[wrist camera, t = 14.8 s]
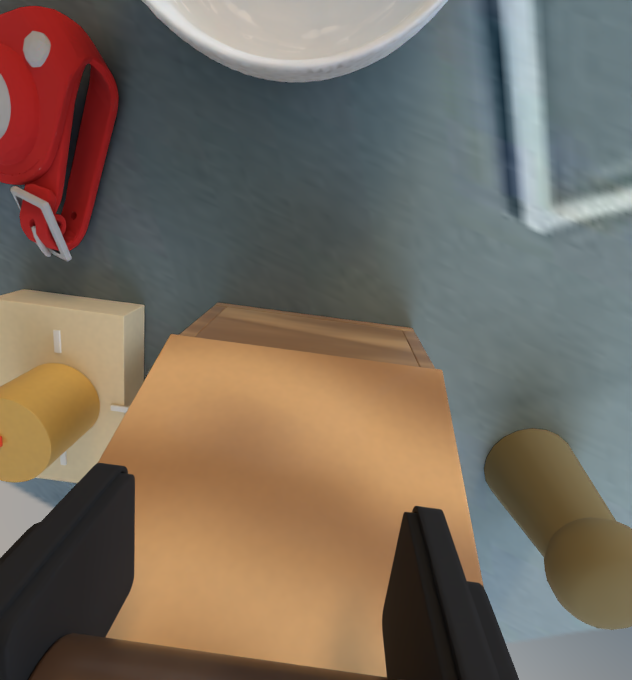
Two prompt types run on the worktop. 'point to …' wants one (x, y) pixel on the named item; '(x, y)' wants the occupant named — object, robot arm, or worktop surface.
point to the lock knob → (43, 418)
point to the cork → (565, 525)
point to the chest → (310, 334)
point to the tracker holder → (52, 123)
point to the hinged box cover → (269, 514)
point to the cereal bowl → (295, 33)
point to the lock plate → (77, 359)
